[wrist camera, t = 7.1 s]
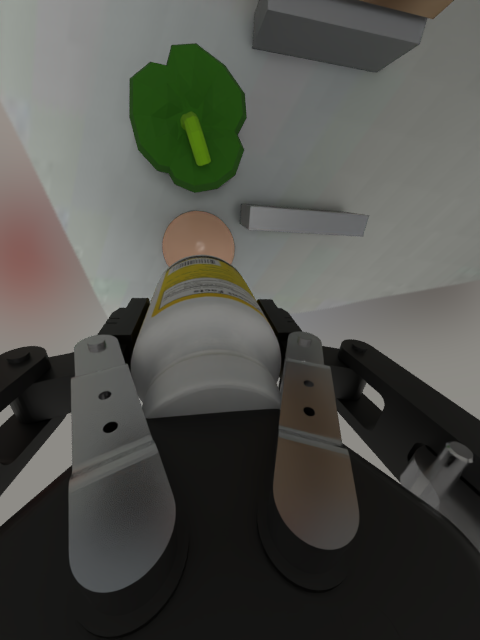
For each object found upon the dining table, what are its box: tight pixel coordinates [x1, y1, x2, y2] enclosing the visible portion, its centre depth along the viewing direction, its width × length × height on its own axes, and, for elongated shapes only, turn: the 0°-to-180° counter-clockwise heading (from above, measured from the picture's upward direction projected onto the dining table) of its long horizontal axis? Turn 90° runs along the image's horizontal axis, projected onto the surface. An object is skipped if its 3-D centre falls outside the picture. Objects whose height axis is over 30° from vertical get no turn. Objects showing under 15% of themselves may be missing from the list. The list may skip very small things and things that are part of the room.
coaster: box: [163, 211, 234, 267], centre depth 27 cm, size 8×8×1 cm
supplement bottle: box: [130, 255, 281, 418], centre depth 10 cm, size 5×5×10 cm
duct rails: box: [240, 0, 427, 236], centre depth 22 cm, size 12×16×5 cm
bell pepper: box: [130, 44, 247, 193], centre depth 19 cm, size 8×8×10 cm
